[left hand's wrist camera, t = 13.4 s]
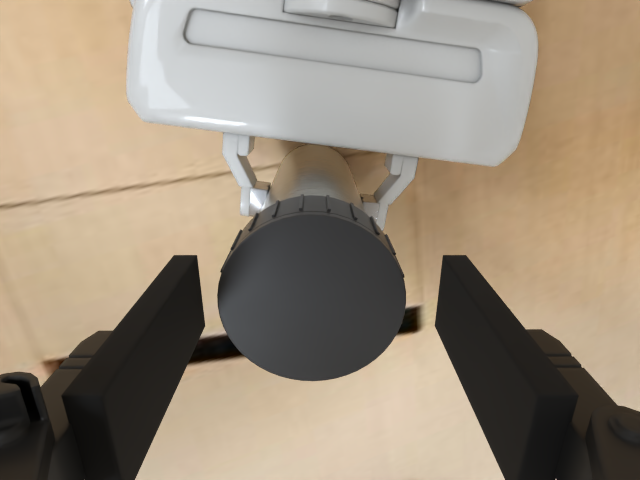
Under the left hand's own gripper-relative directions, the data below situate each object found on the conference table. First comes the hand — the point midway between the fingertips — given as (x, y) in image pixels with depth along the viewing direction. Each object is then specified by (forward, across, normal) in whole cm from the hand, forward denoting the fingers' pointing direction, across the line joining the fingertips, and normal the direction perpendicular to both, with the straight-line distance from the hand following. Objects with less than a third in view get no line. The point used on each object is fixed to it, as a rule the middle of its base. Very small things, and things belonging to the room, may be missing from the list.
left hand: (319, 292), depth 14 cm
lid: (0, 0, 0) cm, 0 cm away
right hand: (+11, 0, -1) cm, 11 cm away
